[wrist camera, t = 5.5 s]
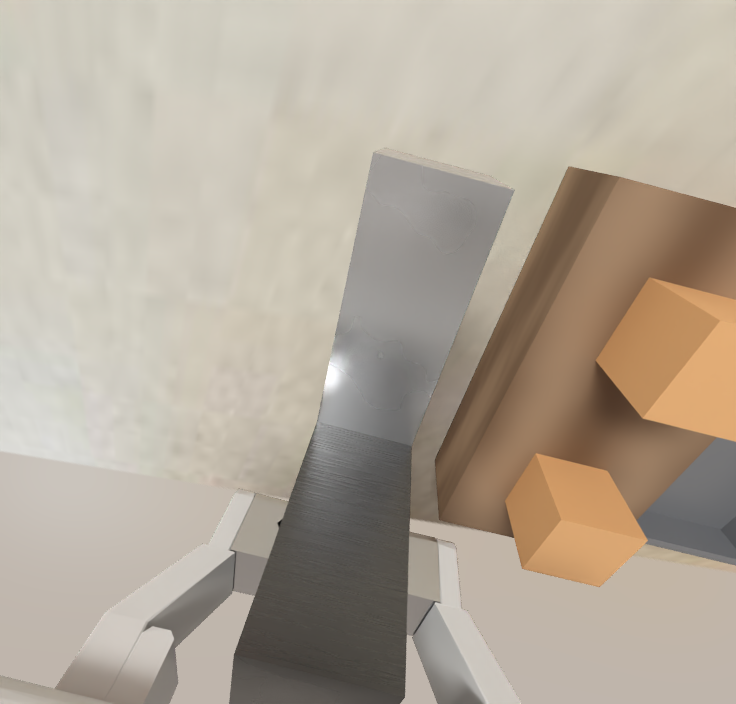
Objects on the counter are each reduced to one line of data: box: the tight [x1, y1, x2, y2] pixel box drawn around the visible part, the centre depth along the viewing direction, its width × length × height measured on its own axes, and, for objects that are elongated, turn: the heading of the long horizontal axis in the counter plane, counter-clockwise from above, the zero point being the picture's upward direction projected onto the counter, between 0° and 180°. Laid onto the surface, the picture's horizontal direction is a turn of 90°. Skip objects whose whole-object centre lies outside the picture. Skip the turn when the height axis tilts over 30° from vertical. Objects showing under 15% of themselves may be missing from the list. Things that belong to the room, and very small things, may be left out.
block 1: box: [505, 453, 648, 587], centre depth 19 cm, size 4×4×4 cm
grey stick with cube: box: [229, 148, 514, 704], centre depth 11 cm, size 3×18×9 cm, turn 167°
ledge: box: [435, 167, 736, 538], centre depth 21 cm, size 10×20×5 cm, turn 167°
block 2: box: [596, 277, 736, 442], centre depth 14 cm, size 4×4×4 cm
